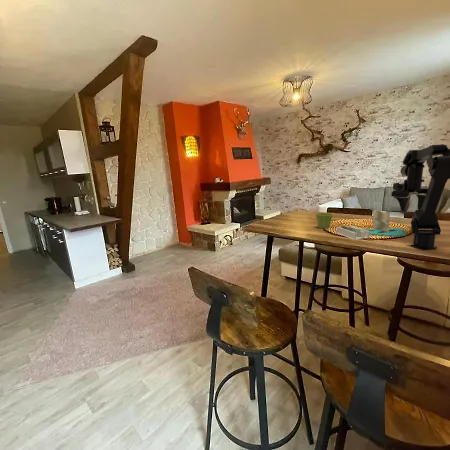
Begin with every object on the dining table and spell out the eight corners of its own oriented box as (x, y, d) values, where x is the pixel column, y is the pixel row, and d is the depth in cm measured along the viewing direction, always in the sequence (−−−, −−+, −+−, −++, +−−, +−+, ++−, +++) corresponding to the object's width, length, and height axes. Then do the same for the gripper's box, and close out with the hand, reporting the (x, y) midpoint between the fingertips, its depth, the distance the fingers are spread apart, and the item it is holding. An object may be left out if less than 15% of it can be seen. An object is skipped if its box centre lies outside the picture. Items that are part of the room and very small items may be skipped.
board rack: (370, 239, 125) (371, 231, 124) (353, 241, 123) (353, 233, 122) (351, 232, 138) (351, 225, 137) (335, 234, 136) (335, 227, 135)
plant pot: (314, 226, 154) (314, 212, 152) (330, 226, 152) (331, 212, 151) (316, 230, 146) (316, 215, 144) (333, 230, 144) (334, 215, 142)
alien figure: (352, 232, 140) (383, 242, 121) (353, 228, 139) (384, 237, 121) (382, 228, 145) (416, 236, 126) (382, 224, 144) (416, 232, 126)
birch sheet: (388, 231, 129) (389, 212, 127) (386, 232, 129) (387, 212, 127) (374, 227, 138) (375, 209, 135) (372, 228, 138) (373, 210, 135)
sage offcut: (359, 237, 126) (360, 229, 125) (357, 237, 125) (357, 229, 124) (351, 234, 131) (351, 226, 130) (349, 234, 131) (349, 226, 130)
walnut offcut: (350, 235, 129) (351, 227, 128) (348, 235, 129) (348, 228, 128) (343, 232, 135) (343, 225, 134) (340, 232, 134) (341, 225, 134)
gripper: (415, 175, 128) (412, 206, 132) (383, 178, 125) (381, 209, 128) (437, 176, 117) (433, 209, 121) (403, 179, 114) (399, 213, 118)
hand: (411, 210), depth 122 cm, fingers open, 9 cm apart
